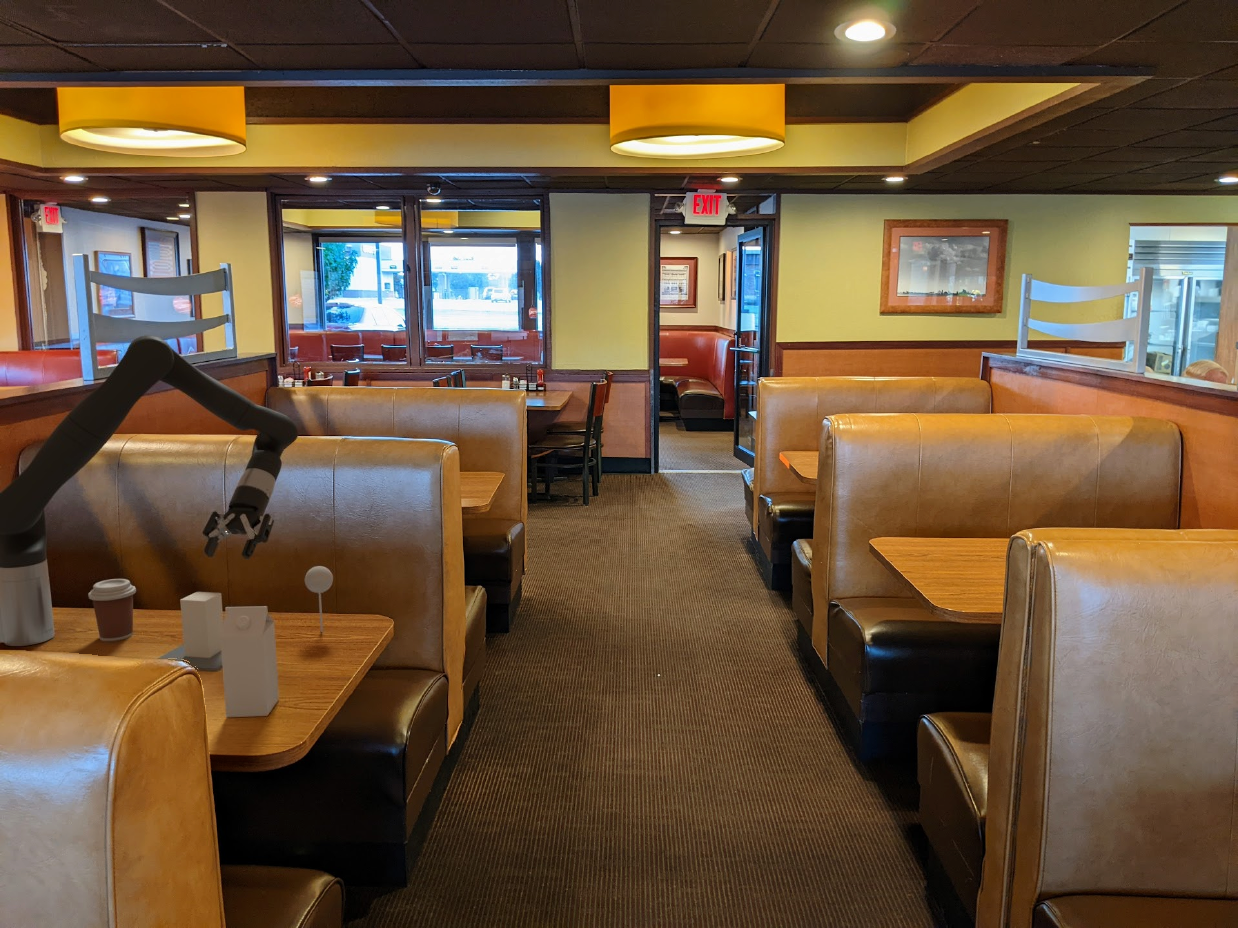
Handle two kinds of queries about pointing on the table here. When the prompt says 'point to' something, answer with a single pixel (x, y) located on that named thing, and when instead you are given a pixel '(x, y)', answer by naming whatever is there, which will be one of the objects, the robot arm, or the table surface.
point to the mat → (196, 659)
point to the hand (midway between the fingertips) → (226, 556)
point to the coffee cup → (113, 608)
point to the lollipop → (319, 583)
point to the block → (202, 624)
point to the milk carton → (249, 661)
